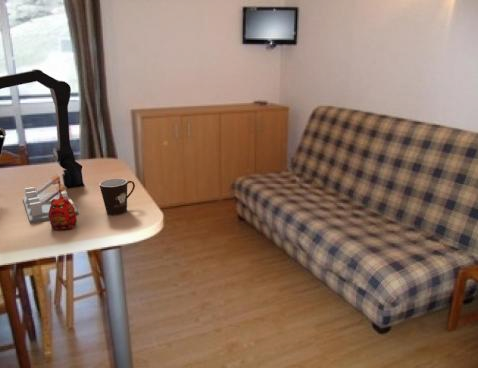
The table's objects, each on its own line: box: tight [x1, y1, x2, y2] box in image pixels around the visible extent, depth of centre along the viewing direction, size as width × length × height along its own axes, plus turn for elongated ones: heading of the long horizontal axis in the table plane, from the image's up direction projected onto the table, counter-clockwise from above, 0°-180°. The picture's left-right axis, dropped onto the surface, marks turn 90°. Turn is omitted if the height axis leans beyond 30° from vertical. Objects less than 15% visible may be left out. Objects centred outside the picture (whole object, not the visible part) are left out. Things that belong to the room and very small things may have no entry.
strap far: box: [35, 174, 59, 195], centre depth 140 cm, size 11×4×1 cm
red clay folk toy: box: [48, 175, 78, 231], centre depth 119 cm, size 8×7×15 cm
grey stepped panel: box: [22, 186, 79, 224], centre depth 136 cm, size 14×24×5 cm, turn 32°
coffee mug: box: [99, 177, 136, 216], centre depth 131 cm, size 12×9×10 cm
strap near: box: [39, 183, 67, 206], centre depth 130 cm, size 11×4×1 cm
